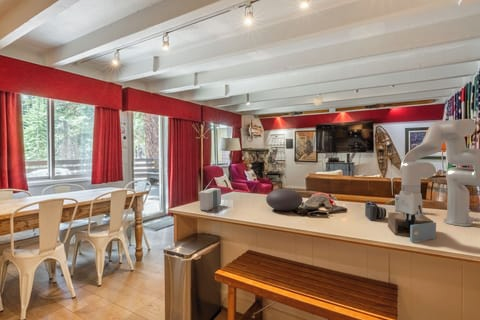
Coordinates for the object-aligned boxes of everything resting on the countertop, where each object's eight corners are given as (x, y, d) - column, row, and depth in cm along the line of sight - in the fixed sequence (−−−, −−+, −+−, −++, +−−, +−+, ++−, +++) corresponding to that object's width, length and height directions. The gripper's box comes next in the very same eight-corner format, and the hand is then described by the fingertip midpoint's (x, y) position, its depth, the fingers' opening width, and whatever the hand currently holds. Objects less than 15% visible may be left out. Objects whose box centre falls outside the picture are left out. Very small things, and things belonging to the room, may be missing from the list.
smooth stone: (276, 205, 201) (276, 185, 200) (308, 209, 186) (308, 188, 186) (259, 211, 181) (259, 189, 180) (293, 216, 166) (293, 193, 166)
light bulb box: (413, 211, 178) (413, 195, 177) (413, 213, 172) (414, 197, 171) (395, 209, 183) (395, 194, 183) (394, 211, 178) (394, 195, 177)
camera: (389, 222, 153) (390, 205, 152) (369, 221, 155) (369, 204, 154) (381, 216, 167) (382, 200, 166) (363, 215, 169) (363, 199, 168)
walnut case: (422, 229, 138) (422, 214, 138) (433, 238, 125) (433, 221, 125) (387, 227, 143) (388, 212, 143) (395, 235, 129) (395, 218, 129)
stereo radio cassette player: (208, 211, 182) (208, 182, 181) (198, 210, 184) (197, 182, 184) (221, 205, 201) (221, 179, 200) (211, 204, 204) (211, 178, 203)
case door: (433, 237, 124) (433, 222, 124) (438, 239, 122) (438, 223, 122) (410, 241, 120) (410, 225, 119) (414, 242, 118) (414, 226, 117)
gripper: (391, 187, 130) (391, 223, 131) (417, 191, 116) (415, 233, 116) (405, 186, 132) (404, 223, 132) (431, 191, 117) (430, 232, 118)
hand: (409, 227), depth 124 cm, fingers closed
